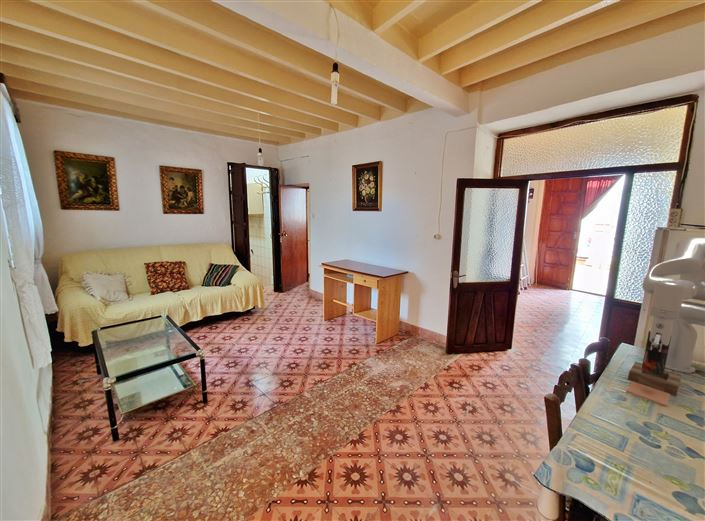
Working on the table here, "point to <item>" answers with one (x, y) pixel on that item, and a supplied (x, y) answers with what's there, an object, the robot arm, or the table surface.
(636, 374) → the holder block
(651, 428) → the table surface
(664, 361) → the deodorant
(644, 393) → the tile
